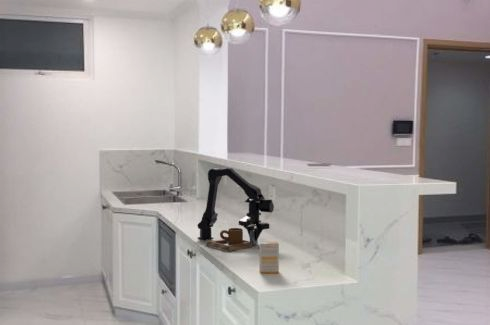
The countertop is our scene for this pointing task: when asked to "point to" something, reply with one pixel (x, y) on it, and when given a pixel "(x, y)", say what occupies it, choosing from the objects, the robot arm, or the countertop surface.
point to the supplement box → (269, 257)
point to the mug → (233, 235)
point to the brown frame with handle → (234, 246)
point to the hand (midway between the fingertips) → (253, 240)
